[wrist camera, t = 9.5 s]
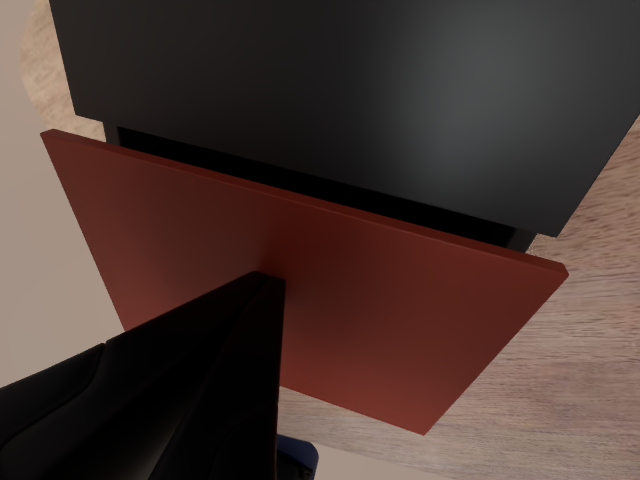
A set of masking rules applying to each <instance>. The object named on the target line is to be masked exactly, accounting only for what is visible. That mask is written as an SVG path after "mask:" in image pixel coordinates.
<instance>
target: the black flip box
mask: <svg viewBox="0 0 640 480" xmlns="http://www.w3.org/2000/svg"><path fill="white" fill-rule="evenodd" d="M49 3H50V7H51V12H52V16H53V20H54V25H55V29H56V33H57V38H58V42H59V46H60V51H61V55H62V59H63V64H64V68H65V72H66V77H67V81H68V85H69V90H70V94H71V98H72V103H73V107H74V111H75V114H76V115H77V116H81V117H85V118H89V119H93V120H97V121H101V122H103V127H104V132H105V137H106V143H109V144H113V145H117V146H121V147H125V148H128V149H132V150H136V151H140V152H144V153H147V154H151V155H155V156H159V157H162V158H166V159H170V160H174V161H178V162H181V163H185V164H189V165H193V166H196V167H200V168H204V169H208V170H212V171H215V172H219V173H223V174H227V175H231V176H234V177H238V178H242V179H246V180H249V181H253V182H257V183H261V184H265V185H268V186H272V187H276V188H280V189H284V190H287V191H291V192H295V193H299V194H302V195H306V196H310V197H314V198H318V199H321V200H325V201H329V202H333V203H336V204H340V205H344V206H348V207H352V208H355V209H359V210H363V211H367V212H371V213H374V214H378V215H382V216H386V217H389V218H393V219H397V220H401V221H405V222H408V223H412V224H416V225H420V226H423V227H427V228H431V229H435V230H439V231H442V232H446V233H450V234H454V235H458V236H461V237H465V238H469V239H473V240H476V241H480V242H484V243H488V244H492V245H495V246H499V247H503V248H507V249H511V250H514V251H518V252H522V253H525V252H526V251H527V249H528V248H529V246H530V244H531V243H532V241H533V240H534V238H535V237H536V235H537V233H539V234H543V235H547V236H551V237H557V236H558V235H559V234H560V232H561V231H562V229H563V228H564V226H565V225H566V223H567V222H568V220H569V219H570V217H571V216H572V214H573V213H574V211H575V210H576V208H577V207H578V205H579V204H580V202H581V201H582V199H583V198H584V196H585V195H586V193H587V192H588V190H589V189H590V187H591V186H592V184H593V183H594V181H595V180H596V178H597V177H598V175H599V174H600V172H601V171H602V169H603V168H604V166H605V165H606V163H607V162H608V160H609V159H610V157H611V156H612V155H613V153H614V152H615V150H616V149H617V147H618V146H619V144H620V143H621V141H622V140H623V138H624V137H625V135H626V134H627V132H628V131H629V129H630V128H631V126H632V125H633V123H634V122H635V120H636V119H637V117H638V116H639V114H640V0H49Z"/></svg>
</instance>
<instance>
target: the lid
mask: <svg viewBox="0 0 640 480" xmlns="http://www.w3.org/2000/svg"><path fill="white" fill-rule="evenodd" d="M40 136H41V138H42V140H43V143H44V145H45V147H46V149H47V152H48V154H49V156H50V159H51V161H52V163H53V166H54V168H55V170H56V172H57V175H58V177H59V180H60V182H61V184H62V187H63V189H64V191H65V193H66V196H67V198H68V200H69V203H70V205H71V207H72V210H73V212H74V214H75V217H76V219H77V221H78V224H79V226H80V228H81V230H82V233H83V235H84V237H85V240H86V242H87V245H88V247H89V249H90V252H91V254H92V256H93V258H94V261H95V263H96V265H97V268H98V270H99V272H100V275H101V277H102V279H103V282H104V284H105V286H106V289H107V291H108V293H109V296H110V298H111V300H112V302H113V305H114V307H115V309H116V311H117V314H118V316H119V319H120V321H121V323H122V326H123V328H124V330H125V332H126V331H128V330H130V329H132V328H134V327H136V326H138V325H140V324H142V323H145V322H147V321H149V320H151V319H153V318H155V317H157V316H159V315H161V314H163V313H165V312H167V311H170V310H172V309H174V308H176V307H178V306H180V305H182V304H184V303H186V302H188V301H190V300H193V299H195V298H197V297H199V296H201V295H203V294H205V293H207V292H209V291H211V290H213V289H215V288H218V287H220V286H222V285H224V284H226V283H228V282H230V281H232V280H234V279H236V278H238V277H240V276H243V275H245V274H247V273H249V272H251V271H259V272H262V273H265V274H268V275H269V276H275V277H279V278H282V279H285V280H286V294H285V309H284V324H283V340H282V355H281V370H280V385H279V386H282V387H285V388H288V389H291V390H294V391H297V392H300V393H302V394H305V395H308V396H311V397H314V398H317V399H320V400H323V401H325V402H328V403H331V404H334V405H337V406H340V407H343V408H346V409H349V410H351V411H354V412H357V413H360V414H363V415H366V416H369V417H372V418H374V419H377V420H380V421H383V422H386V423H389V424H392V425H395V426H397V427H400V428H403V429H406V430H409V431H412V432H415V433H418V434H421V435H425V434H426V433H427V432H428V431H429V430H430V429H431V427H432V426H433V425H434V424H435V423H436V422H437V421H438V420H439V419H440V418H441V416H442V415H443V414H444V413H445V412H446V411H447V410H448V409H449V408H450V407H451V405H452V404H453V403H454V402H455V401H456V400H457V399H458V398H459V397H460V396H461V394H462V393H463V392H464V391H465V390H466V389H467V388H468V387H469V386H470V384H471V383H472V382H473V381H474V380H475V379H476V378H477V377H478V376H479V375H480V373H481V372H482V371H483V370H484V369H485V368H486V367H487V366H488V365H489V364H490V362H491V361H492V360H493V359H494V358H495V357H496V356H497V355H498V354H499V353H500V351H501V350H502V349H503V348H504V347H505V346H506V345H507V344H508V343H509V341H510V340H511V339H512V338H513V337H514V336H515V335H516V334H517V333H518V332H519V330H520V329H521V328H522V327H523V326H524V325H525V324H526V323H527V322H528V321H529V319H530V318H531V317H532V316H533V315H534V314H535V313H536V312H537V311H538V310H539V308H540V307H541V306H542V305H543V304H544V303H545V302H546V301H547V300H548V298H549V297H550V296H551V295H552V294H553V293H554V292H555V291H556V290H557V289H558V287H559V286H560V285H561V284H562V283H563V282H564V281H565V280H566V279H567V278H568V276H569V273H568V272H567V270H566V268H565V266H564V264H562V263H560V262H556V261H552V260H548V259H545V258H541V257H537V256H533V255H529V254H526V253H522V252H518V251H514V250H511V249H507V248H503V247H499V246H495V245H492V244H488V243H484V242H480V241H476V240H473V239H469V238H465V237H461V236H458V235H454V234H450V233H446V232H442V231H439V230H435V229H431V228H427V227H423V226H420V225H416V224H412V223H408V222H405V221H401V220H397V219H393V218H389V217H386V216H382V215H378V214H374V213H371V212H367V211H363V210H359V209H355V208H352V207H348V206H344V205H340V204H336V203H333V202H329V201H325V200H321V199H318V198H314V197H310V196H306V195H302V194H299V193H295V192H291V191H287V190H284V189H280V188H276V187H272V186H268V185H265V184H261V183H257V182H253V181H249V180H246V179H242V178H238V177H234V176H231V175H227V174H223V173H219V172H215V171H212V170H208V169H204V168H200V167H196V166H193V165H189V164H185V163H181V162H178V161H174V160H170V159H166V158H162V157H159V156H155V155H151V154H147V153H144V152H140V151H136V150H132V149H128V148H125V147H121V146H117V145H113V144H109V143H106V142H102V141H98V140H94V139H91V138H87V137H83V136H79V135H75V134H72V133H68V132H64V131H60V130H57V129H51V130H48V131H45V132H42V133H40Z"/></svg>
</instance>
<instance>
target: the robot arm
mask: <svg viewBox="0 0 640 480" xmlns="http://www.w3.org/2000/svg"><path fill="white" fill-rule="evenodd" d="M285 294H286V280H285V279H282V278H279V277H275V276H269V275H268V274H265V273H262V272H259V271H251V272H249V273H247V274H245V275H243V276H240V277H238V278H236V279H234V280H232V281H230V282H228V283H226V284H224V285H222V286H220V287H218V288H215V289H213V290H211V291H209V292H207V293H205V294H203V295H201V296H199V297H197V298H195V299H193V300H190V301H188V302H186V303H184V304H182V305H180V306H178V307H176V308H174V309H172V310H170V311H167V312H165V313H163V314H161V315H159V316H157V317H155V318H153V319H151V320H149V321H147V322H145V323H142V324H140V325H138V326H136V327H134V328H132V329H130V330H128V331H126V332H124V333H122V334H120V335H118V336H115V337H113V338H111V339H109V340H107V341H106V343H105V344H104V343H101V344H98V345H96V346H94V347H92V348H90V349H88V350H86V351H84V352H82V353H80V354H77V355H75V356H73V357H71V358H69V359H66V360H64V361H62V362H60V363H58V364H56V365H54V366H51V367H49V368H47V369H45V370H42V371H40V372H38V373H35V374H33V375H30V376H28V377H26V378H24V379H21V380H19V381H16V382H14V383H11V384H9V385H7V386H4V387H2V388H0V480H309V479H310V478H311V477H312V476H313V470H312V469H311V468H309V467H307V466H305V465H303V464H301V463H299V462H297V461H294V460H292V459H290V458H288V457H286V456H284V455H282V454H280V453H278V452H276V443H277V419H278V401H279V385H280V370H281V355H282V340H283V324H284V309H285Z"/></svg>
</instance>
